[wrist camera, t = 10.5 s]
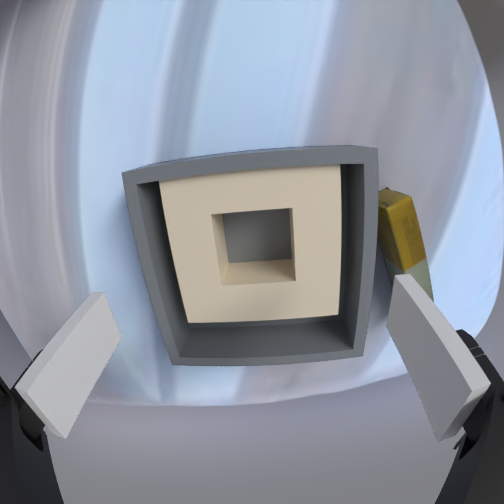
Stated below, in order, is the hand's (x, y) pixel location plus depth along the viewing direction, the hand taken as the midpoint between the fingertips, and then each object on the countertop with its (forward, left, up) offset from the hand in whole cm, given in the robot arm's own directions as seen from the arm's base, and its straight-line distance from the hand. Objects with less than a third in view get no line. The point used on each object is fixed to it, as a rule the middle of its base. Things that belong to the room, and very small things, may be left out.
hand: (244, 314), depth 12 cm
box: (+2, 0, -13) cm, 14 cm away
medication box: (+3, +13, -14) cm, 19 cm away
